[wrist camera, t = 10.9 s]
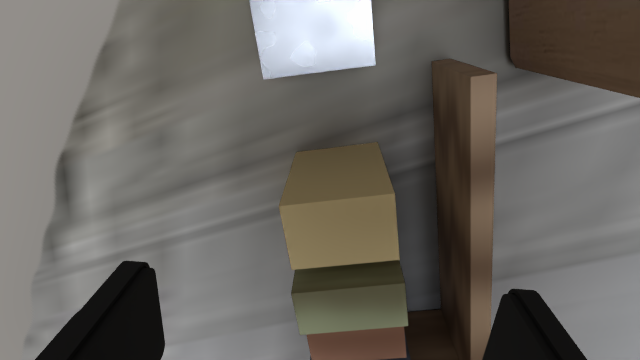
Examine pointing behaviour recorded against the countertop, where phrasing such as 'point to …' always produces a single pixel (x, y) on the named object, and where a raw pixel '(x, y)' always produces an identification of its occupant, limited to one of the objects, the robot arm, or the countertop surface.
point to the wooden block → (579, 41)
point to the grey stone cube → (312, 35)
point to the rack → (453, 240)
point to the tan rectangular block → (339, 208)
